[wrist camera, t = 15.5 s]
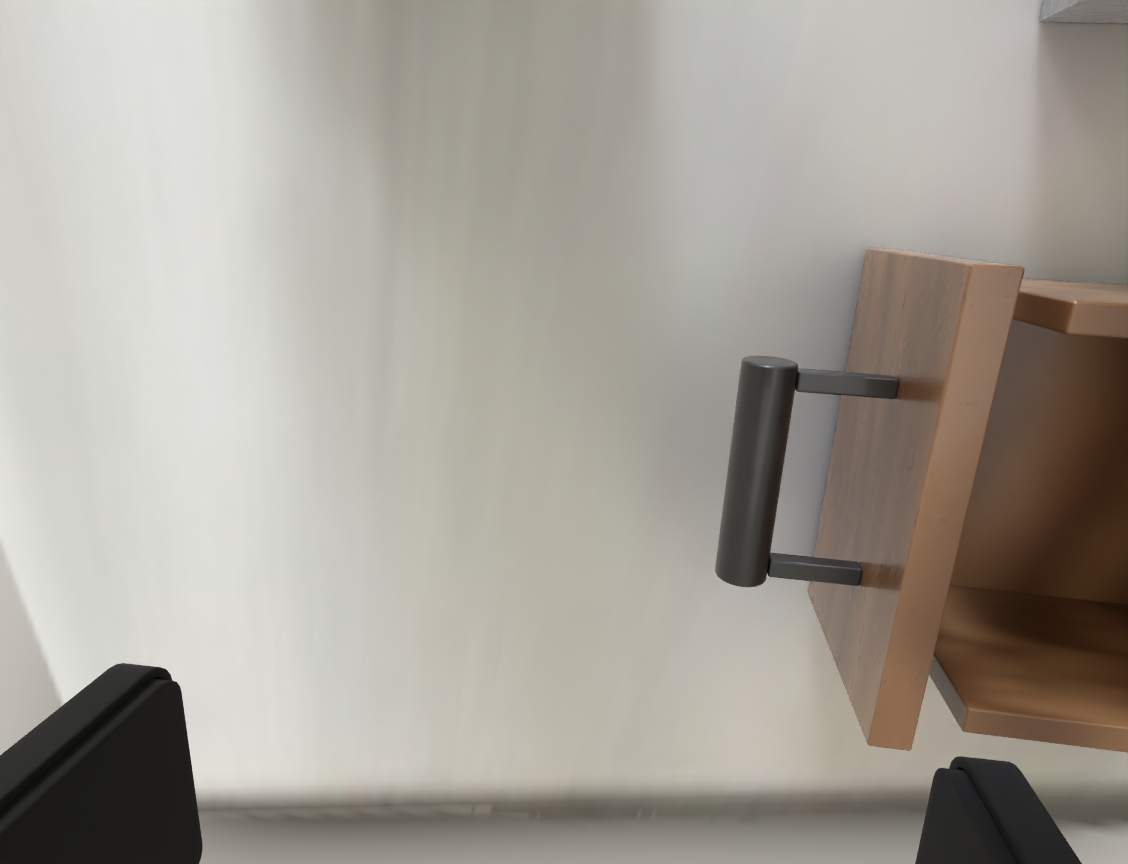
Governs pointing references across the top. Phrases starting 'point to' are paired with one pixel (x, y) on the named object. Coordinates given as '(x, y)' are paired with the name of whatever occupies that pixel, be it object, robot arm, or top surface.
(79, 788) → the robot arm
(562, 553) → the top surface
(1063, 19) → the grater
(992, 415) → the drawer
